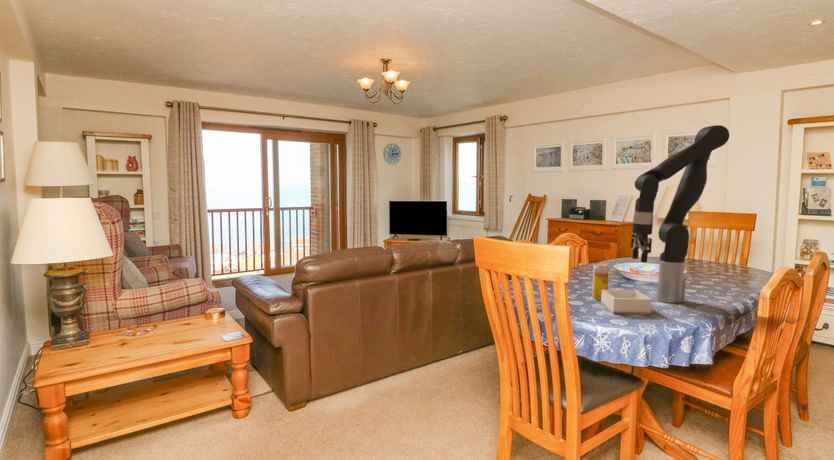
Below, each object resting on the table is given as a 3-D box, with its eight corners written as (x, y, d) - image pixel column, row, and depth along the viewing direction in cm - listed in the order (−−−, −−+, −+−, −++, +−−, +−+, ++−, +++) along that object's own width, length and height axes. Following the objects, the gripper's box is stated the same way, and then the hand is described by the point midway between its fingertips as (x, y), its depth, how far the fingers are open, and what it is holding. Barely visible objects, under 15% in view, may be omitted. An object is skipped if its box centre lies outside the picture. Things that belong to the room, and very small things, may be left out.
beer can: (608, 301, 193) (610, 266, 192) (593, 300, 195) (594, 266, 193) (605, 297, 199) (607, 263, 197) (590, 296, 200) (592, 263, 199)
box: (635, 304, 188) (636, 290, 187) (650, 314, 174) (651, 299, 174) (600, 303, 189) (601, 289, 188) (613, 313, 175) (613, 298, 175)
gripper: (660, 224, 184) (656, 264, 186) (644, 221, 198) (640, 257, 200) (641, 224, 184) (637, 263, 186) (626, 220, 198) (623, 257, 200)
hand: (639, 260), depth 193 cm, fingers open, 8 cm apart
